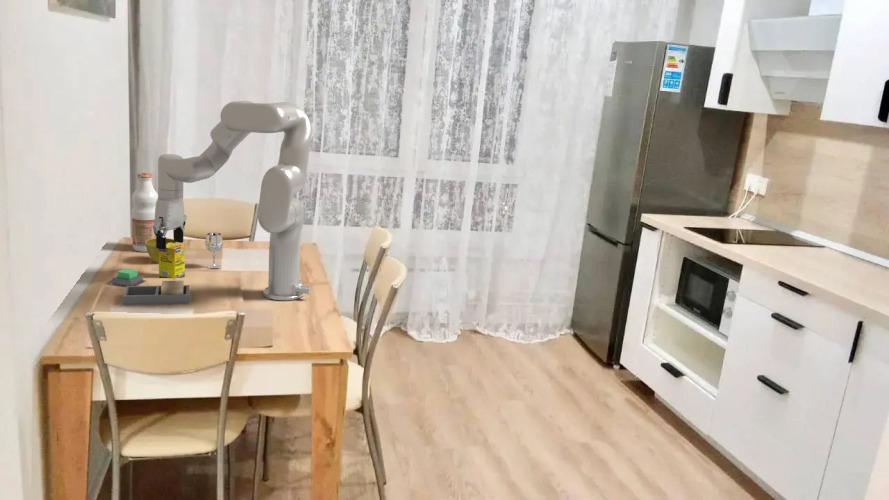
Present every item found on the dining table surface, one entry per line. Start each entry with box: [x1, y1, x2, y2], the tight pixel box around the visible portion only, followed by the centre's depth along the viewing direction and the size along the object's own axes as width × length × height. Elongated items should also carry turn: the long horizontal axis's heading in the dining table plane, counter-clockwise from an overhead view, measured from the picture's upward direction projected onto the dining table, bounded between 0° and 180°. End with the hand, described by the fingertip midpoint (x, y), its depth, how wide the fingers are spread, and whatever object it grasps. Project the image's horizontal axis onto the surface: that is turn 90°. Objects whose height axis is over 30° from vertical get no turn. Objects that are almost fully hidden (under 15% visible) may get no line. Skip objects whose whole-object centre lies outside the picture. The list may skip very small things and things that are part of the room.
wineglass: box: [204, 231, 224, 269], centre depth 238 cm, size 6×6×12 cm
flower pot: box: [145, 237, 177, 264], centre depth 240 cm, size 10×10×7 cm
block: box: [160, 280, 185, 295], centre depth 203 cm, size 6×6×4 cm
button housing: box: [107, 273, 147, 288], centre depth 214 cm, size 8×8×3 cm
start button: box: [117, 268, 138, 279], centre depth 213 cm, size 4×4×2 cm
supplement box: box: [158, 242, 186, 279], centre depth 224 cm, size 6×6×11 cm
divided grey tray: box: [119, 284, 193, 307], centre depth 202 cm, size 19×11×4 cm, turn 109°
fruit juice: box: [131, 172, 158, 253], centre depth 250 cm, size 9×9×28 cm
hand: (170, 245), depth 223 cm, fingers open, 9 cm apart
